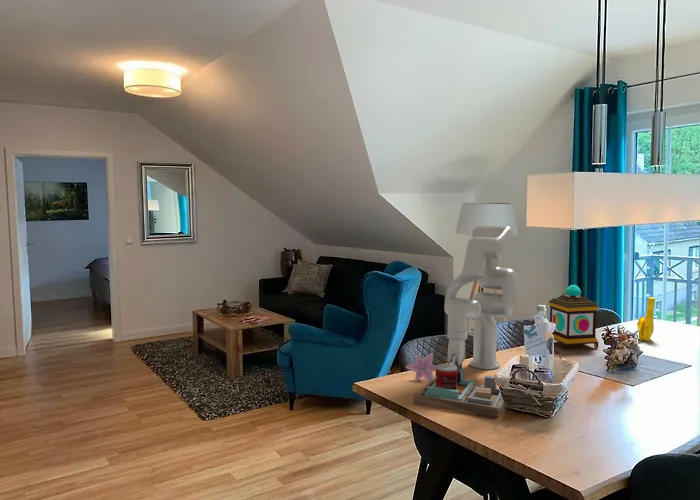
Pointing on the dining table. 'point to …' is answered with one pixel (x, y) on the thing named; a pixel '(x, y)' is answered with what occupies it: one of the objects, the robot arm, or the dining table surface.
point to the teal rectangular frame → (449, 390)
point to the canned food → (446, 376)
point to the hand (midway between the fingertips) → (456, 380)
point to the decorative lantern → (573, 318)
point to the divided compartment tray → (458, 403)
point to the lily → (423, 367)
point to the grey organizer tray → (487, 384)
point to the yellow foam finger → (647, 321)
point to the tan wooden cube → (483, 393)
